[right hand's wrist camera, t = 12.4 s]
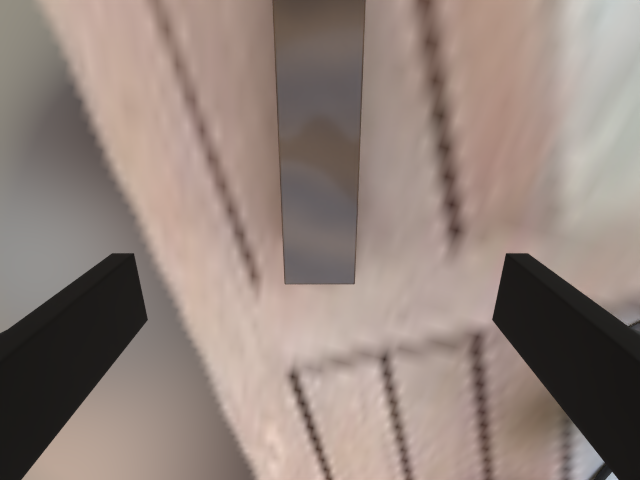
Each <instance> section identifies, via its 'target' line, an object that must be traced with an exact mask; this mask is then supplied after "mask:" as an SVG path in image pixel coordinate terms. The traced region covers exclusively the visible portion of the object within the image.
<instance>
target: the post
mask: <svg viewBox="0 0 640 480" xmlns="http://www.w3.org/2000/svg"><path fill="white" fill-rule="evenodd" d="M273 23H274V46H275V69H276V93H277V116H278V139H279V163H280V186H281V209H282V233H283V256H284V279H285V284H355V263H356V237H357V211H358V184H359V158H360V132H361V106H362V79H363V53H364V27H365V0H273Z"/></svg>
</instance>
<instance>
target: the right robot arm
mask: <svg viewBox="0 0 640 480" xmlns="http://www.w3.org/2000/svg"><path fill="white" fill-rule="evenodd" d="M147 320H148V319H147V314H146V309H145V305H144V300H143V295H142V290H141V285H140V280H139V276H138V271H137V266H136V261H135V256H134V253H112V254H111V255H109V256H108V257H107V258H105V259H104V260H103V261H101V262H100V263H98V264H97V265H96V266H94V267H93V268H92V269H90V270H89V271H87V272H86V273H85V274H83V275H82V276H81V277H79V278H78V279H76V280H75V281H74V282H72V283H71V284H70V285H68V286H67V287H65V288H64V289H63V290H61V291H60V292H59V293H57V294H56V295H54V296H53V297H52V298H50V299H49V300H48V301H46V302H45V303H44V304H42V305H41V306H39V307H38V308H37V309H35V310H34V311H33V312H31V313H30V314H28V315H27V316H26V317H24V318H23V319H22V320H20V321H19V322H17V323H16V324H15V325H13V326H12V327H11V328H9V329H8V330H6V331H4V332H2V333H0V480H21V479H22V478H23V477H24V476H25V474H26V473H27V472H28V471H29V469H30V468H31V467H32V466H33V464H34V463H35V462H36V460H37V459H38V458H39V457H40V455H41V454H42V453H43V452H44V450H45V449H46V448H47V447H48V445H49V444H50V443H51V442H52V440H53V439H54V438H55V436H56V435H57V434H58V433H59V431H60V430H61V429H62V428H63V426H64V425H65V424H66V423H67V421H68V420H69V419H70V418H71V416H72V415H73V414H74V412H75V411H76V410H77V409H78V407H79V406H80V405H81V404H82V402H83V401H84V400H85V399H86V397H87V396H88V395H89V393H90V392H91V391H92V390H93V388H94V387H95V386H96V385H97V383H98V382H99V381H100V380H101V378H102V377H103V376H104V375H105V373H106V372H107V371H108V369H109V368H110V367H111V366H112V364H113V363H114V362H115V361H116V359H117V358H118V357H119V356H120V354H121V353H122V352H123V351H124V349H125V348H126V347H127V345H128V344H129V343H130V342H131V340H132V339H133V338H134V337H135V335H136V334H137V333H138V332H139V330H140V329H141V328H142V326H143V325H144V324H145V323H146V321H147ZM492 320H493V321H494V323H495V324H496V325H497V326H498V328H499V329H500V330H501V332H502V333H503V334H504V335H505V337H506V338H507V339H508V340H509V342H510V343H511V344H512V345H513V347H514V348H515V349H516V351H517V352H518V353H519V354H520V356H521V357H522V358H523V359H524V361H525V362H526V363H527V364H528V366H529V367H530V368H531V369H532V371H533V372H534V373H535V375H536V376H537V377H538V378H539V380H540V381H541V382H542V383H543V385H544V386H545V387H546V388H547V390H548V391H549V392H550V393H551V395H552V396H553V397H554V399H555V400H556V401H557V402H558V404H559V405H560V406H561V407H562V409H563V410H564V411H565V412H566V414H567V415H568V416H569V418H570V419H571V420H572V421H573V423H574V424H575V425H576V426H577V428H578V429H579V430H580V431H581V433H582V434H583V435H584V436H585V438H586V439H587V440H588V442H589V443H590V444H591V445H592V447H593V448H594V449H595V450H596V452H597V453H598V454H599V455H600V457H601V458H602V459H603V460H604V462H605V463H606V466H605V467H604V468H603V469H602V470H601V471H600V472H599V474H598V475H597V476H596V477H595V478H594V480H605V479H606V478H607V477H608V476H609V475H610V474H611V473H612V472H613V473H614V474H615V476H616V477H617V478H618V479H619V480H640V323H638V324H636V325H634V326H632V327H628V326H627V325H625V324H624V323H623V322H621V321H620V320H619V319H617V318H616V317H614V316H613V315H612V314H610V313H609V312H608V311H606V310H605V309H603V308H602V307H601V306H599V305H598V304H597V303H595V302H594V301H592V300H591V299H590V298H588V297H587V296H586V295H584V294H583V293H581V292H580V291H579V290H577V289H576V288H575V287H573V286H572V285H570V284H569V283H568V282H566V281H565V280H564V279H562V278H561V277H559V276H558V275H557V274H555V273H554V272H553V271H551V270H550V269H548V268H547V267H546V266H544V265H543V264H542V263H540V262H539V261H537V260H536V259H535V258H533V257H532V256H531V255H529V254H528V253H506V256H505V261H504V266H503V271H502V276H501V280H500V285H499V290H498V295H497V300H496V304H495V309H494V314H493V319H492Z"/></svg>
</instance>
